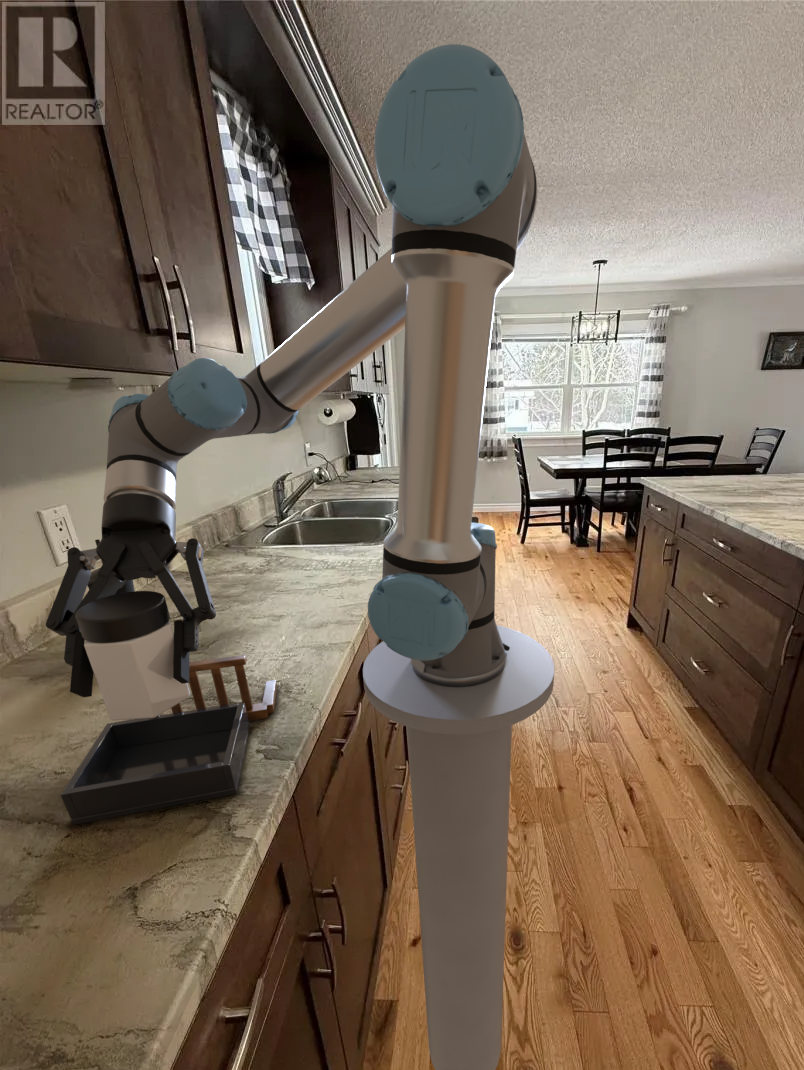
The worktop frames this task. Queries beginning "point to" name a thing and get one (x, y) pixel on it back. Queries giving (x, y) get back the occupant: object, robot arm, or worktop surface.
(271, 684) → the drying rack
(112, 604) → the jar
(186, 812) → the worktop surface
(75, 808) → the rectangular tray
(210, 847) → the worktop surface
